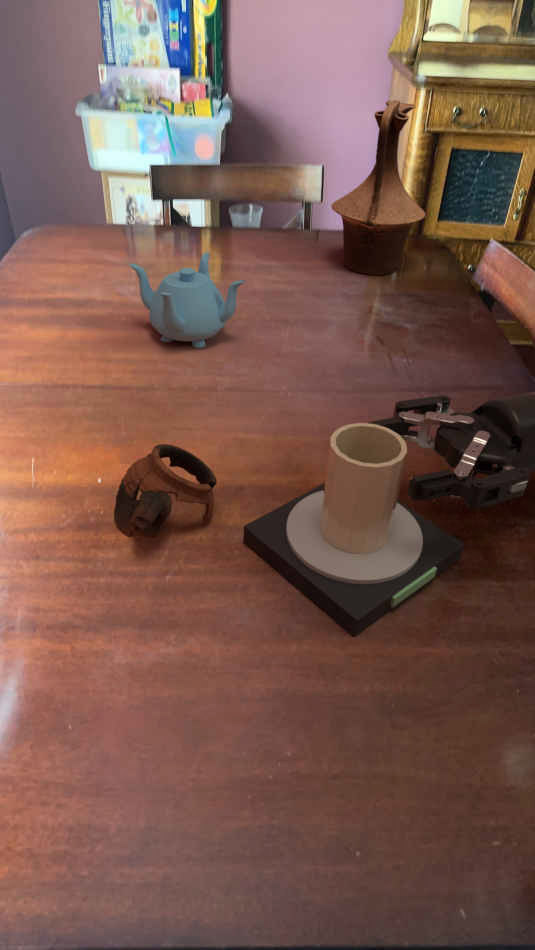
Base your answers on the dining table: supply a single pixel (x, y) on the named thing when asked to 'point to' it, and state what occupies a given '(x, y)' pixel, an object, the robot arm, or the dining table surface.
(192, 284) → the teapot
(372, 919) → the dining table surface
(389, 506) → the cup
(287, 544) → the scale
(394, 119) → the pitcher
